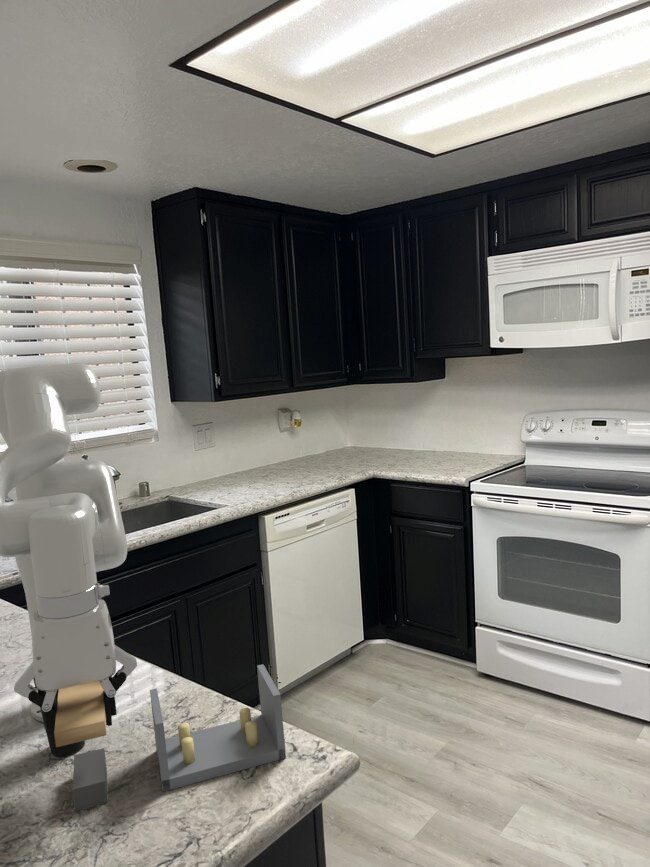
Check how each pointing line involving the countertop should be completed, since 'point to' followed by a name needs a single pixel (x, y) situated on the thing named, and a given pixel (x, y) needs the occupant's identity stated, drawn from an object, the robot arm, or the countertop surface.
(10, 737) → the countertop surface
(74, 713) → the shelf board
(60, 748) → the drinking cup
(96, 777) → the block
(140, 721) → the countertop surface
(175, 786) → the cabinet stand
